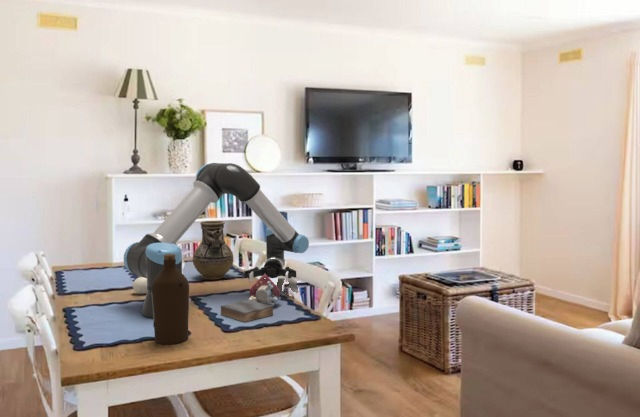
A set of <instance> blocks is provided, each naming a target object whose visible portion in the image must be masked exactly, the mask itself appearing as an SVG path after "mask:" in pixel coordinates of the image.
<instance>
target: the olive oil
mask: <svg viewBox="0 0 640 417" xmlns="http://www.w3.org/2000/svg"><path fill="white" fill-rule="evenodd" d="M151 294H152V305H153V318H152V319H153V324H152V325H153V326H152V327H153V329H154V330H153V331H154V342H155V343H157V344H160V345H174V344H175V345H176V344H180V343H184V342H186V341H187V340H188V339H189V311H190V310H189V308H190V307H189V306H190V305H189V304H190V284H189V282H188V278H187V276H185V275H184V274H183V272H182V273H181V272H180V271H179V270H178V269H177V268H176V259H175V254H165V255H164V268H163V269H162V271H161V272H160V273H159V274H158V275H157V276H156V277H155V279H154V280H153V283H152V287H151Z"/></svg>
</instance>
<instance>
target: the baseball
mask: <svg viewBox="0 0 640 417" xmlns="http://www.w3.org/2000/svg"><path fill="white" fill-rule="evenodd" d="M132 289H133V291H134V292H135V293H136V295H137V294H138V295H145V294H147V278H144V277H139V276H138V277H136V279H134V281H133V283H132Z"/></svg>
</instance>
